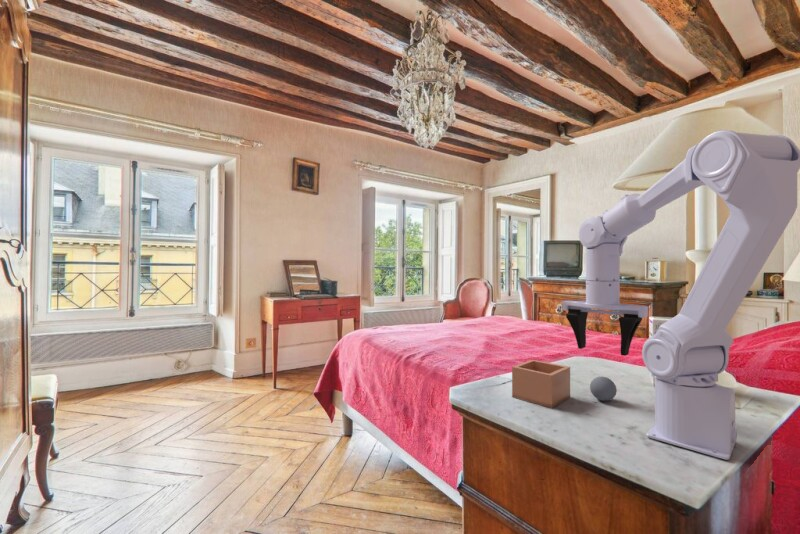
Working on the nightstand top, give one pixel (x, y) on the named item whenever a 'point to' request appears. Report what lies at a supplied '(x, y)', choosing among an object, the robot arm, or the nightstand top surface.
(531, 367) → the open square bin
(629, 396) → the nightstand top surface
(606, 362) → the nightstand top surface
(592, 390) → the ball
